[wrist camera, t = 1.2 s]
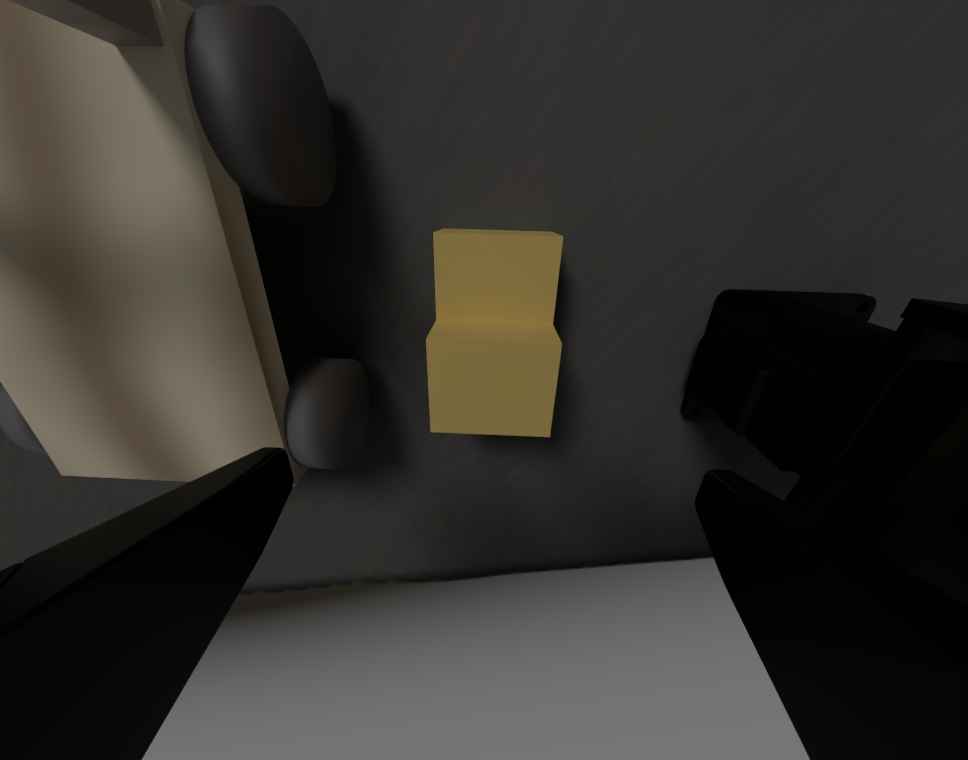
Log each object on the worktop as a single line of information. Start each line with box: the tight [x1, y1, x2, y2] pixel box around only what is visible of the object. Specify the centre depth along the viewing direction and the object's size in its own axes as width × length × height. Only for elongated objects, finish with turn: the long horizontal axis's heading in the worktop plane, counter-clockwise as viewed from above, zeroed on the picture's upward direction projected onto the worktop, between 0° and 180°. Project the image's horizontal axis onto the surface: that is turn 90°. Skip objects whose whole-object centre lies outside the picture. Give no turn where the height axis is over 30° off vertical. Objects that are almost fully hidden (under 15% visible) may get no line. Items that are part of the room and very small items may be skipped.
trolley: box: [0, 0, 370, 487], centre depth 10 cm, size 13×16×13 cm
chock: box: [426, 229, 563, 437], centre depth 14 cm, size 5×7×5 cm, turn 179°
